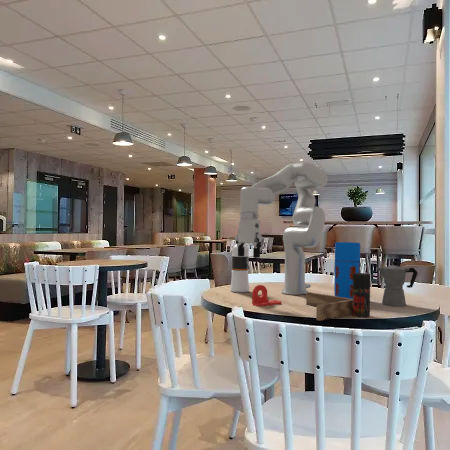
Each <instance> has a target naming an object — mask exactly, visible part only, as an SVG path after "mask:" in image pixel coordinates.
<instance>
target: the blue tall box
mask: <svg viewBox="0 0 450 450" xmlns="http://www.w3.org/2000/svg"><path fill="white" fill-rule="evenodd" d="M353 273H361V243H360V242H349V241H343V242H342V241H337V242H335V243H334V281H333V282H334V287H333V288H334V289H333V290H334V291H333V292H334V294H333V295H334V296H337V297H343V298H349V299H353Z"/></svg>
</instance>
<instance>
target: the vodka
mask: <svg viewBox="0 0 450 450" xmlns="http://www.w3.org/2000/svg"><path fill="white" fill-rule="evenodd" d="M241 244H242V243H241ZM243 247H244V256H238V247H237V244H236V243H235V245H233V246H232V247H231V280H230V281H231V283H230V287H229V288H230V289H229V290H230V291H231V292H232V293H239V294H240V293H241V294H242V293H248V292H249V291H250V284H249V261H250V260H249V258H250V257H249V256H250V255H249V254H250V253H249V251H250V249H249V246H247V244H246V243H245V244H244V246H243Z"/></svg>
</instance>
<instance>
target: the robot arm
mask: <svg viewBox="0 0 450 450" xmlns="http://www.w3.org/2000/svg"><path fill="white" fill-rule="evenodd" d="M327 175H328V174H327V173H326V172H325V170H323V169H321V168H320V167H318V166H316V165H315V164H312V163H310V162H306V161H303V162H293V163H290V164H288V165H286V166H284V167H283V168H282V169H280V170H279V171H278V172H276V173H275V174H274V175H271V176H269V177H267V178H265V179H262V180H260V181H258V182H256V183H253V185H251V186H245V187H242V188H240V203H239V204H240V209H239V211H240V212H239V215H240V216H239V217H240V218H239V223H238V230H237V234H236V235H235V236H234V242H235V245H236V244H237V247H238V256H244V247H243V246H244V244H245V245H246V244H252V245H253V250H252V251H253V254H252V255H253V258H254V259H259V258H261V248H262V246H263V244H264V241H265V237H264V236H262V230H261V224H260V223H261V222H260V220H259V217H260V216H259V206H269V205H271V204H273V202H274V201H275V199H276V194H279V193H281V192H284V191H286V190H287V189H289V187H291V186H292V185H295V188H296V192H297V196H298V197H297V198H298V199H297V202H296V205H295V208H294V211H293V215H292V223H293V224H294V225H295V226H291V227H287V228H286V229H285V230H284V231H283V234H282V240H283V247H284V288H282V289H281V291H280V293H282V294H283V295H292V296H302V295H303V296H304V295H306V292H309V291H308V290H307V289H310V288H311V284H310V283H306V279H305V278H306V255H305V252H304V249H303V248H315V247H316V246H317V245H318V244H319V242H320V240H321V239H320V238H321V235H322V232H323V229H324V226H325V224H326V223H325V222H326V213H325V211H324V209H323V208H322V207H320V206H316V197H315V195H314V193H313V192H312V190H311V189H321V188H324V187H326V185H327V184H328V176H327ZM241 243H242V244H241Z"/></svg>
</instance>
